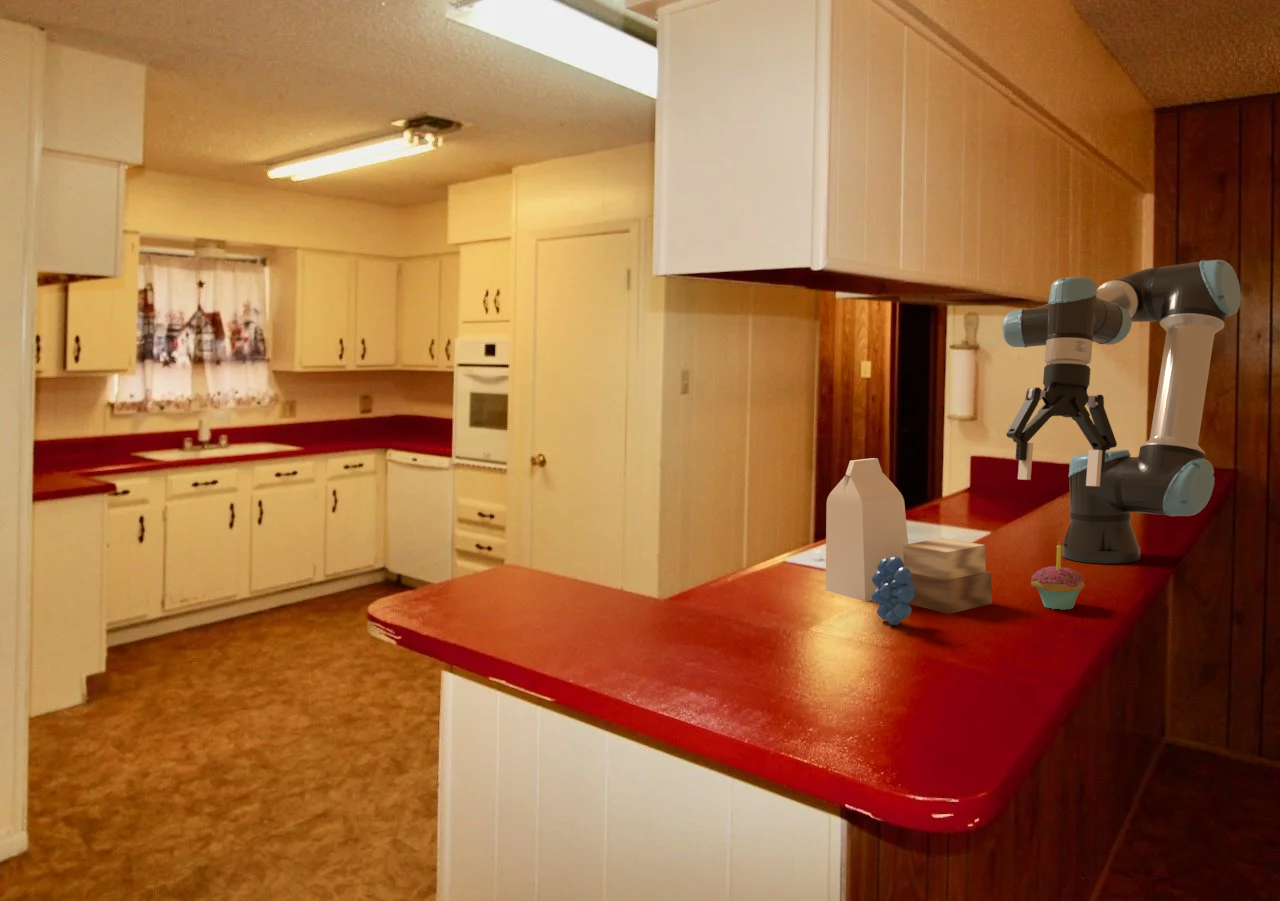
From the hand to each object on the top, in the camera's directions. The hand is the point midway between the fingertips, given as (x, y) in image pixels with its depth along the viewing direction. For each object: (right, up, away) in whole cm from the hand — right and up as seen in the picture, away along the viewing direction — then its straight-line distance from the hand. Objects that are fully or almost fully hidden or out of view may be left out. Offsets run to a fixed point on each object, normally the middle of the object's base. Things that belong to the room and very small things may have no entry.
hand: (1058, 483), depth 158 cm
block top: (-19, -16, +4) cm, 25 cm away
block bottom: (-19, -22, +4) cm, 29 cm away
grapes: (-31, -24, -9) cm, 40 cm away
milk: (-30, -22, +16) cm, 40 cm away
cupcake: (-1, -22, -3) cm, 22 cm away
